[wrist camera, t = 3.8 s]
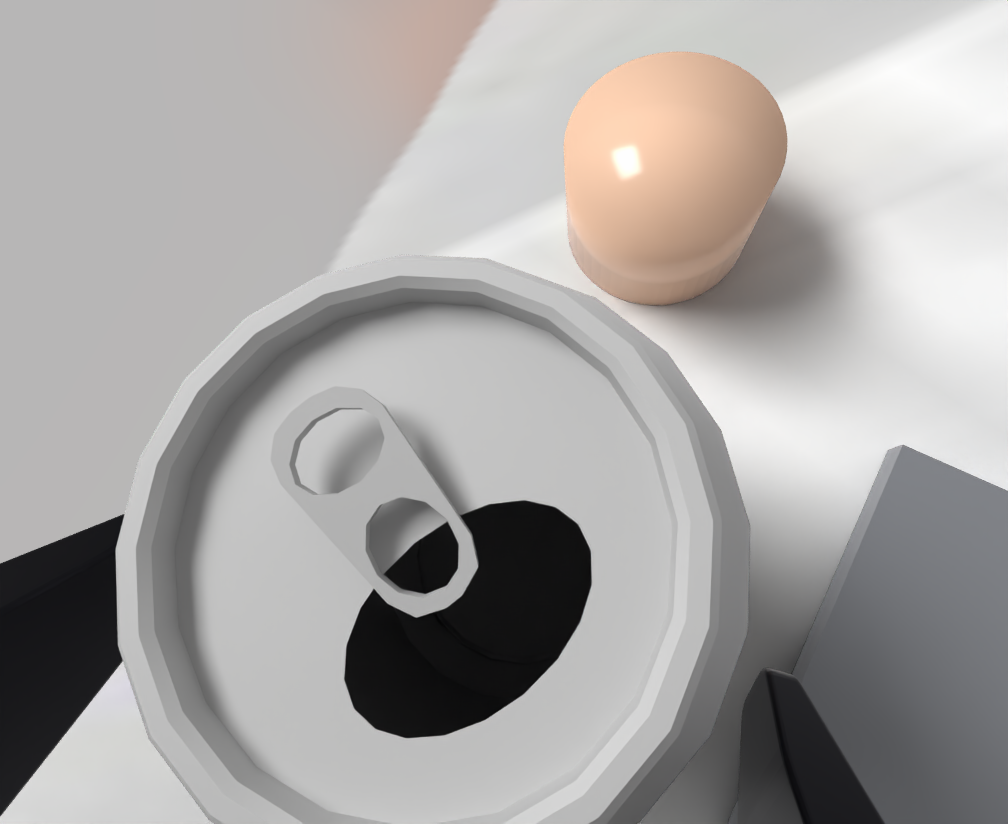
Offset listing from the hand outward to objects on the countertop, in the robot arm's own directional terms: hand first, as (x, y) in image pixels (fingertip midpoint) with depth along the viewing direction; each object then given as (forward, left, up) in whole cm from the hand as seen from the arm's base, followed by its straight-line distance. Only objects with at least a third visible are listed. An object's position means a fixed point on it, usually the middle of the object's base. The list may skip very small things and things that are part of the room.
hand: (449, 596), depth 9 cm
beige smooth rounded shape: (+12, +2, -8) cm, 15 cm away
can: (+1, 0, -9) cm, 9 cm away
